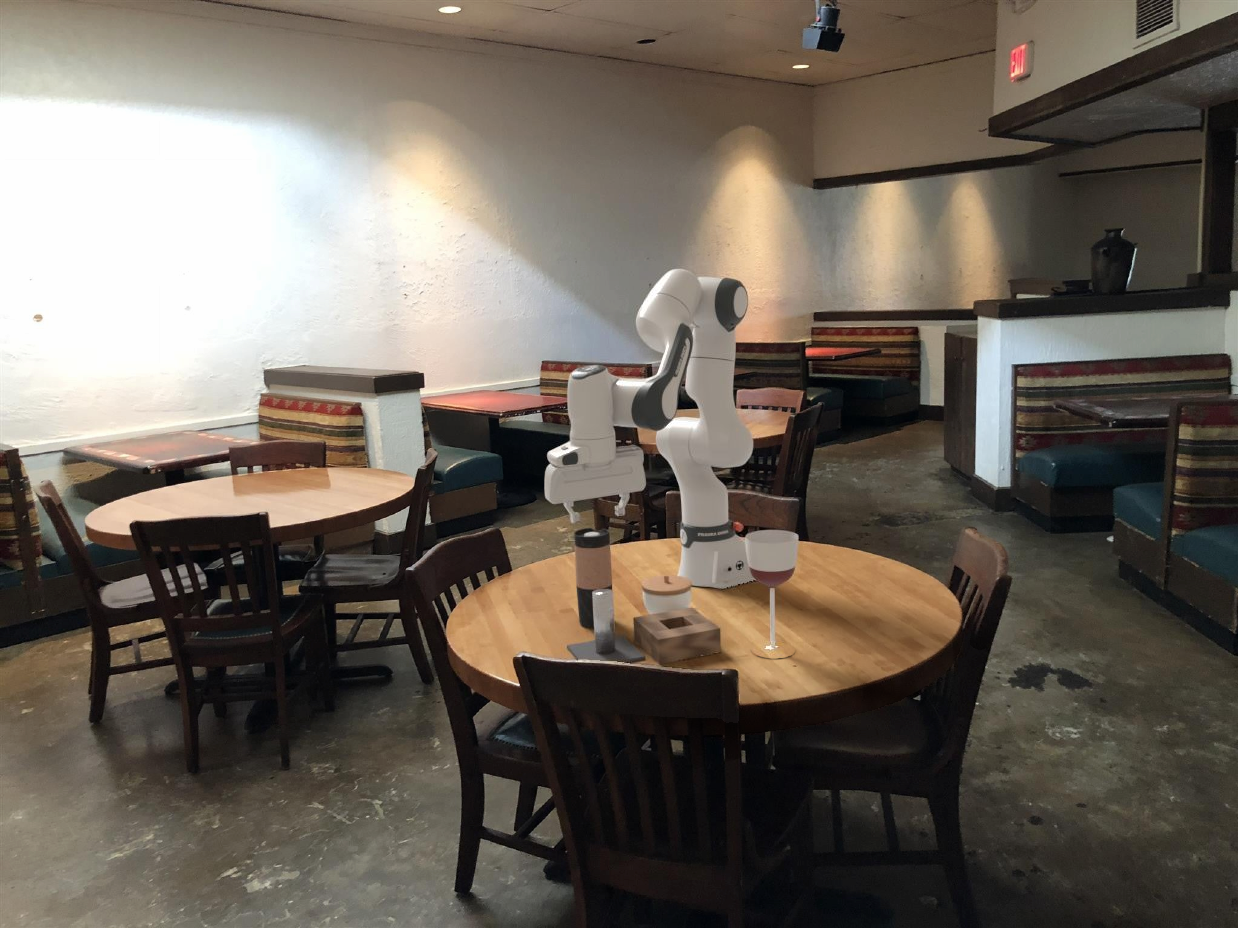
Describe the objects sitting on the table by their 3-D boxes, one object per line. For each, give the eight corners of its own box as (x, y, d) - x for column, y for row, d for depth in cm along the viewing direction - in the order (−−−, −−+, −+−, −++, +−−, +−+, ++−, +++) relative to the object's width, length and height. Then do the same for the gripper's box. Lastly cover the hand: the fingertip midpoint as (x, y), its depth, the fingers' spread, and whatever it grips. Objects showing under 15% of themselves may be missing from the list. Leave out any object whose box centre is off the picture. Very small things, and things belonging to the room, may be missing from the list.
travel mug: (587, 631, 196) (583, 539, 192) (572, 620, 202) (567, 531, 198) (620, 623, 199) (616, 533, 195) (604, 613, 206) (599, 525, 202)
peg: (611, 645, 186) (608, 587, 184) (618, 652, 182) (615, 593, 180) (592, 648, 185) (589, 590, 182) (599, 655, 181) (596, 596, 179)
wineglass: (742, 643, 186) (740, 531, 181) (791, 639, 187) (791, 528, 182) (752, 661, 177) (751, 544, 172) (804, 657, 178) (804, 541, 173)
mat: (622, 637, 191) (622, 635, 191) (645, 659, 180) (644, 656, 180) (566, 648, 187) (566, 645, 187) (586, 670, 176) (585, 667, 176)
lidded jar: (654, 606, 209) (653, 565, 207) (699, 611, 204) (698, 570, 203) (634, 622, 200) (633, 580, 198) (681, 628, 195) (680, 585, 193)
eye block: (692, 630, 194) (691, 607, 193) (720, 652, 182) (720, 628, 181) (634, 640, 189) (633, 617, 188) (659, 664, 177) (658, 639, 176)
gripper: (636, 440, 188) (640, 507, 191) (539, 454, 181) (544, 522, 184) (648, 446, 182) (652, 514, 185) (548, 459, 175) (554, 530, 178)
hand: (597, 518), depth 185 cm, fingers open, 8 cm apart
